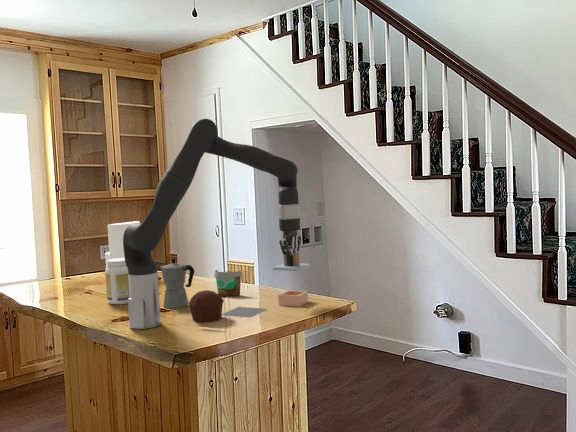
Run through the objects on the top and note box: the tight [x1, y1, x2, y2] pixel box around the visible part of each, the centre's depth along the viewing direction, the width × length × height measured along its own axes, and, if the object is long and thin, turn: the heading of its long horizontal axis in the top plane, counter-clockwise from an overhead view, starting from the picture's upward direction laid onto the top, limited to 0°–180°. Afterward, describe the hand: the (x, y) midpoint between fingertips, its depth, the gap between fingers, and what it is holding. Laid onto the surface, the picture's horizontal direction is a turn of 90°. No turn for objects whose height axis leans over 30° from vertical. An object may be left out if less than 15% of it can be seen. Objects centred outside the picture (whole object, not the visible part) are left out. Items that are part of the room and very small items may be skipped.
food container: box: [213, 269, 243, 298], centre depth 220 cm, size 12×6×10 cm, turn 62°
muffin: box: [188, 289, 225, 324], centre depth 181 cm, size 12×11×10 cm
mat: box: [221, 306, 268, 318], centre depth 188 cm, size 12×12×1 cm
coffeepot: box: [158, 257, 195, 310], centre depth 205 cm, size 15×9×18 cm, turn 66°
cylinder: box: [104, 220, 141, 269], centre depth 270 cm, size 17×17×28 cm
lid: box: [272, 252, 311, 272], centre depth 197 cm, size 10×10×5 cm
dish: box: [277, 290, 309, 308], centre depth 198 cm, size 8×8×4 cm
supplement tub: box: [104, 258, 130, 305], centre depth 219 cm, size 12×12×17 cm
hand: (291, 265), depth 197 cm, fingers closed on lid
